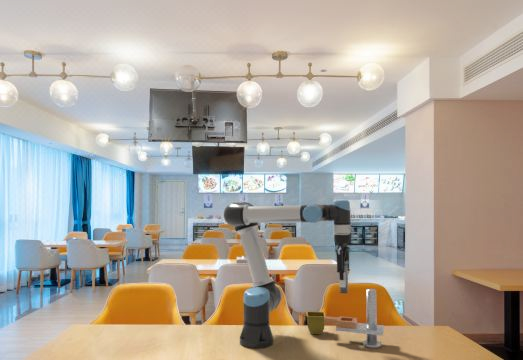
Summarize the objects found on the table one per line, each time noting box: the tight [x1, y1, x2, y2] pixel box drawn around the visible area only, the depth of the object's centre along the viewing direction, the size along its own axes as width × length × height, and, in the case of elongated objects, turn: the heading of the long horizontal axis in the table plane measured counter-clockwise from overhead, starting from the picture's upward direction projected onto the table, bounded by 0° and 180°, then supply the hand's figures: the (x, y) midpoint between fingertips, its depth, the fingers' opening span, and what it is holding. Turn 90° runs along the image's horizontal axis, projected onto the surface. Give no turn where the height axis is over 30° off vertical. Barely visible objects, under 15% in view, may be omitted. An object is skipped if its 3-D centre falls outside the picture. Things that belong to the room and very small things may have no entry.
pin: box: [339, 261, 350, 294], centre depth 188 cm, size 5×5×14 cm
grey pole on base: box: [324, 288, 385, 349], centre depth 188 cm, size 26×10×24 cm, turn 70°
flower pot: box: [306, 311, 326, 335], centre depth 201 cm, size 9×9×9 cm
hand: (343, 286), depth 188 cm, fingers closed on pin, 3 cm apart
